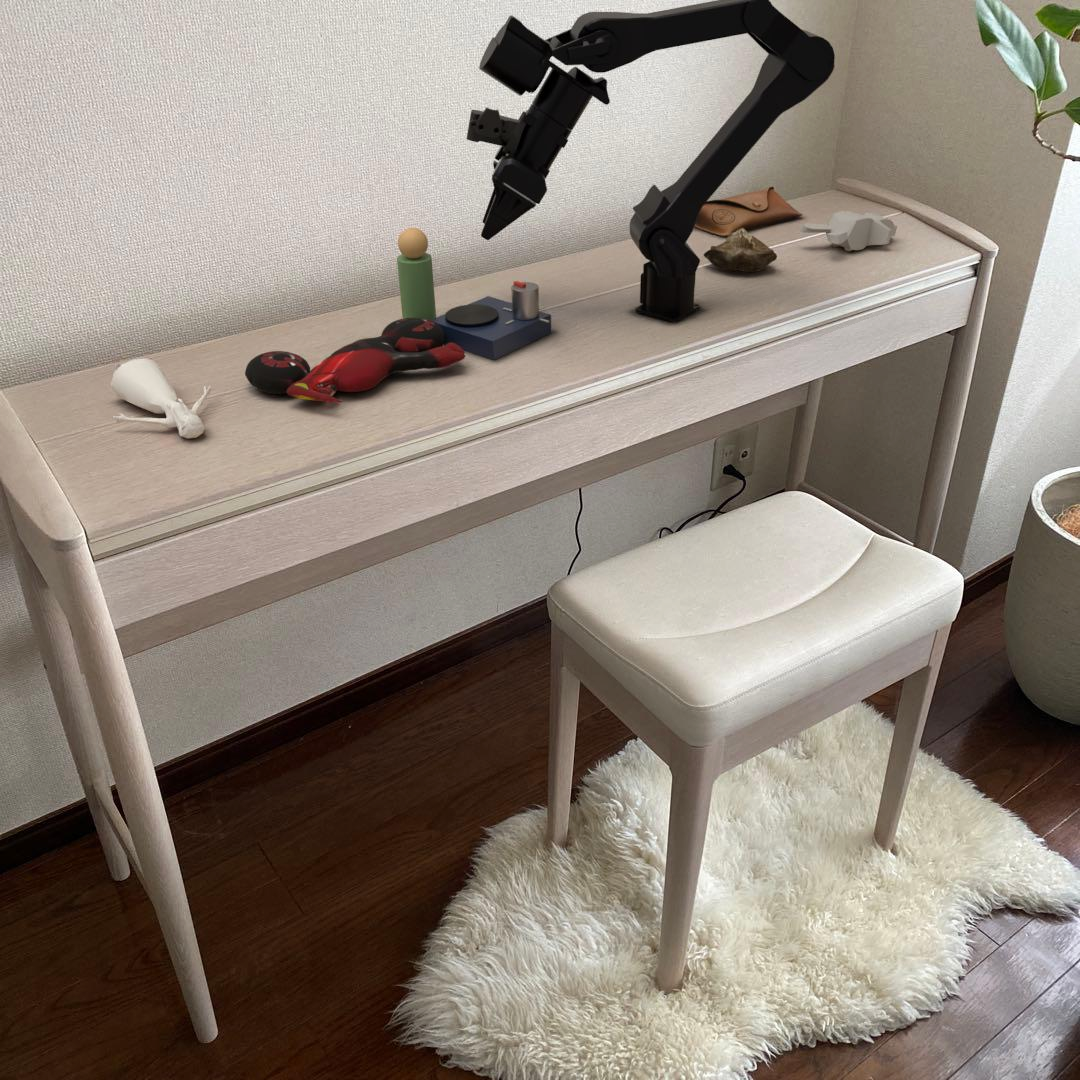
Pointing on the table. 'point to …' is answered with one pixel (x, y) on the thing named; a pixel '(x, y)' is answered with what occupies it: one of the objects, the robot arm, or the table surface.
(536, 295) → the stove knob
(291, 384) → the toy motorcycle
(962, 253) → the table surface
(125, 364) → the woman figurine
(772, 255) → the fossilized seashell
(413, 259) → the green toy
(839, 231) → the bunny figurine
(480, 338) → the hot plate
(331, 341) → the table surface
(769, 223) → the sunglasses case
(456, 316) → the burner plate
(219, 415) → the table surface
